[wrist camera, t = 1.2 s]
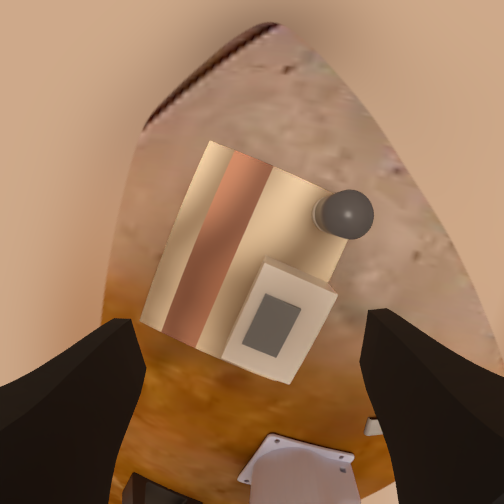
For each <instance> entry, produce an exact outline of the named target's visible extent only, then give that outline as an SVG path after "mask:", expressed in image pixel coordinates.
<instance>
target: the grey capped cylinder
mask: <svg viewBox="0 0 504 504" xmlns="http://www.w3.org/2000/svg"><path fill="white" fill-rule="evenodd" d="M373 219H374V212H373V207H372V205H371V202H370V201H369V199H368V198H367V197H366V196H365V195H364V194H362V193H361V192H358V191H355V190H344V191H341V192H338V193H335V194H332V195H329V196H326V197H323V198H321V199H319V200H318V201H317V202H316V203H315V204H314V206H313V209H312V220H313V223H314V224H315V226H316V227H317V228H318V229H319V230H321V231H323V232H326V233H329V234H332V235H335V236H338V237H341V238H344V239H357V238H360V237H362V236H363V235H365V234H366V233H367V232H368V231H369V229H370V228H371V226H372V223H373Z"/></svg>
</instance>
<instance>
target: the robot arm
mask: <svg viewBox="0 0 504 504" xmlns="http://www.w3.org/2000/svg"><path fill="white" fill-rule="evenodd" d="M360 366H361V371H362V375H363V379H364V383H365V387H366V390H367V393H368V396H369V398H370V401H371V403H372V406H373V409H374V411H375V414H376V417H377V419H378V422H379V425H380V427H381V430H382V433H383V435H384V438H385V441H386V443H387V447H388V450H389V453H390V457H391V462H392V466H393V471H394V476H395V481H396V488H397V494H398V501H399V504H504V377H502V376H500V375H497V374H495V373H493V372H491V371H489V370H486V369H484V368H482V367H480V366H478V365H476V364H474V363H472V362H471V361H469V360H467V359H465V358H463V357H462V356H460V355H458V354H457V353H455V352H453V351H452V350H450V349H448V348H447V347H445V346H443V345H442V344H440V343H439V342H437V341H436V340H434V339H433V338H431V337H430V336H428V335H427V334H425V333H424V332H422V331H421V330H419V329H418V328H416V327H415V326H413V325H412V324H411V323H409V322H408V321H406V320H405V319H403V318H402V317H400V316H399V315H397V314H396V313H394V312H392V311H391V310H389V309H387V308H384V309H375V310H368V315H367V322H366V328H365V334H364V340H363V346H362V351H361V356H360ZM145 373H146V365H145V362H144V359H143V356H142V353H141V350H140V347H139V344H138V341H137V338H136V334H135V331H134V328H133V324H132V321H131V319H117V318H114V319H112V320H110V321H109V322H107V323H105V324H104V325H102V326H100V327H99V328H97V329H96V330H94V331H93V332H92V333H90V334H89V335H87V336H86V337H84V338H83V339H82V340H80V341H78V342H77V343H75V344H74V345H73V346H71V347H70V348H68V349H67V350H65V351H64V352H62V353H61V354H59V355H58V356H56V357H55V358H53V359H51V360H50V361H48V362H47V363H45V364H44V365H42V366H40V367H39V368H37V369H35V370H34V371H32V372H30V373H28V374H26V375H25V376H22V377H21V378H19V379H17V380H15V381H13V382H11V383H8V384H6V385H4V386H1V387H0V504H108V501H109V494H110V488H111V482H112V477H113V472H114V467H115V463H116V459H117V455H118V452H119V449H120V446H121V443H122V441H123V438H124V435H125V433H126V430H127V428H128V425H129V422H130V420H131V417H132V415H133V412H134V410H135V407H136V404H137V402H138V399H139V396H140V394H141V390H142V386H143V382H144V377H145ZM276 439H279V440H278V441H276ZM353 460H354V455H353V454H352V453H347V452H342V451H337V450H333V449H328V448H324V447H320V446H316V445H312V444H308V443H304V442H300V441H297V440H293V439H290V438H286V437H283V436H279V435H276V434H269V435H268V436H267V437H266V438H265V440H264V441H263V443H262V444H261V446H260V447H259V448H258V450H257V451H256V453H255V454H254V455H253V457H252V458H251V460H250V461H249V462H248V464H247V465H246V466H245V468H244V469H243V470H242V472H241V473H240V474H239V476H238V481H239V482H242V483H246V484H249V485H251V490H250V501H249V504H361V500H360V496H359V492H358V489H357V485H356V481H355V478H354V474H353V471H352V467H351V464H350V463H351V462H352V461H353Z"/></svg>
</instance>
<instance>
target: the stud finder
mask: <svg viewBox="0 0 504 504" xmlns="http://www.w3.org/2000/svg"><path fill="white" fill-rule="evenodd" d="M337 296H338V294H337V293H336V292H335V290H334V289H333V288H332V287H331V286H330V284H329V283H328V282H325V281H323V280H321V279H319V278H316V277H314V276H312V275H310V274H307V273H305V272H303V271H301V270H298V269H296V268H294V267H291V266H289V265H287V264H285V263H282V262H280V261H278V260H276V259H273V258H271V257H269V256H267V255H265V257H264V259H263V262H262V264H261V266H260V268H259V271H258V273H257V275H256V277H255V279H254V282H253V284H252V286H251V288H250V291H249V293H248V295H247V297H246V299H245V302H244V304H243V306H242V308H241V310H240V313H239V315H238V317H237V319H236V321H235V324H234V326H233V328H232V330H231V332H230V334H229V337H228V339H227V342H226V345H225V348H224V351H223V354H222V357H221V358H222V359H224V360H227V361H229V362H232V363H234V364H236V365H239V366H241V367H244V368H246V369H249V370H251V371H254V372H256V373H259V374H262V375H264V376H267V377H269V378H272V379H275V380H278V381H280V382H283V383H286V384H289V385H290V383H291V381H292V380H293V378H294V376H295V374H296V373H297V371H298V369H299V368H300V366H301V364H302V362H303V361H304V359H305V357H306V355H307V353H308V352H309V350H310V348H311V346H312V344H313V343H314V341H315V339H316V337H317V335H318V333H319V331H320V330H321V328H322V326H323V324H324V322H325V320H326V318H327V316H328V314H329V312H330V310H331V308H332V306H333V304H334V302H335V300H336V298H337Z"/></svg>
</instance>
